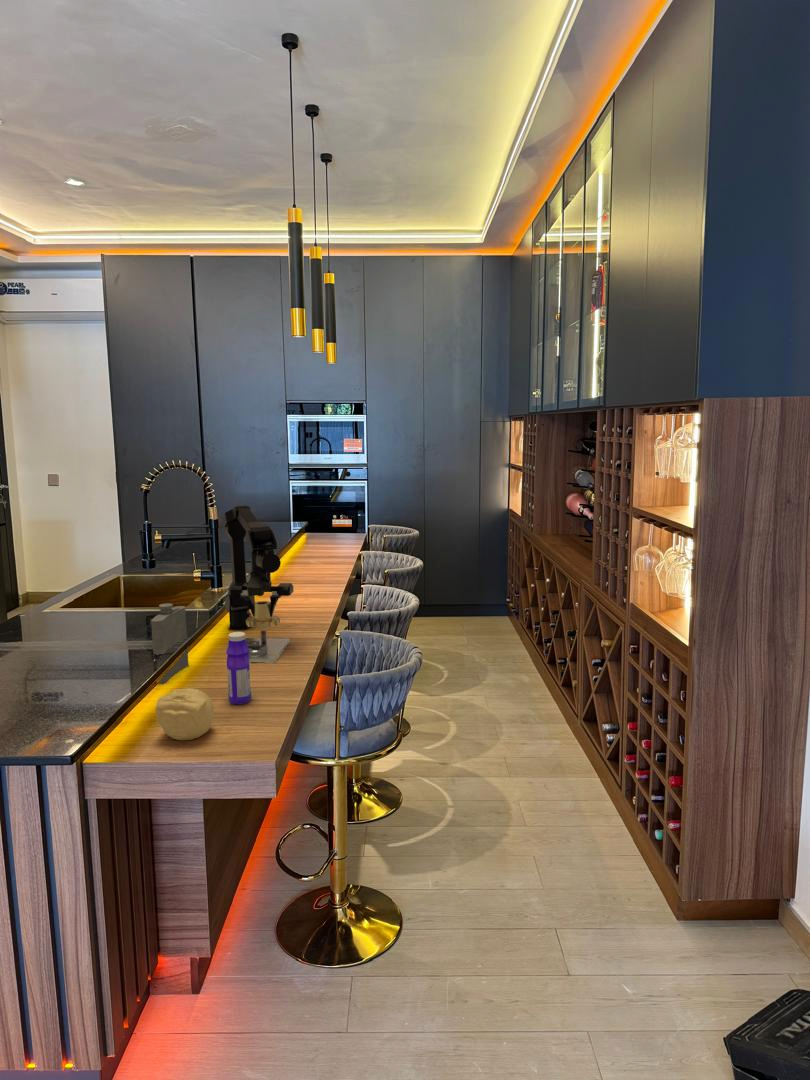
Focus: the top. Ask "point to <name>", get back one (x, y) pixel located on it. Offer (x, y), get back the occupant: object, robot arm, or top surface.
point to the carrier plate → (272, 649)
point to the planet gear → (262, 616)
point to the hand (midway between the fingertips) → (262, 616)
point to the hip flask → (170, 635)
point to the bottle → (238, 669)
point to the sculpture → (185, 713)
